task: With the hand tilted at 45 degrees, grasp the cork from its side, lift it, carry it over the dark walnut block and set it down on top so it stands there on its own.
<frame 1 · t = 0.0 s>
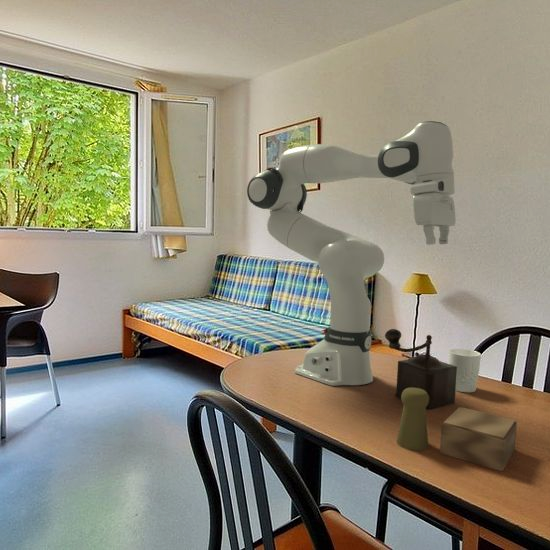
hand: (437, 244, 117), 39 cm above the table, tool pointing down, fingers open, 8 cm apart
white cup: (462, 389, 129), on the table
walnut block: (477, 451, 91), on the table
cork: (412, 444, 94), on the table
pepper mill: (416, 402, 118), on the table
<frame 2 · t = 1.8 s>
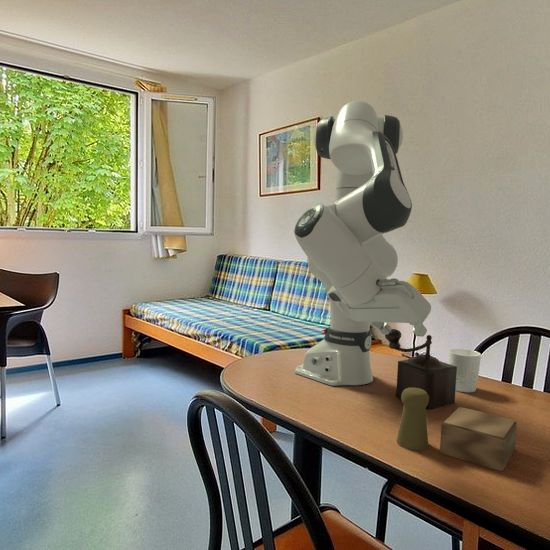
hand: (404, 332, 91), 22 cm above the table, tool tilted 45°, fingers open, 8 cm apart
nothing on the table moved.
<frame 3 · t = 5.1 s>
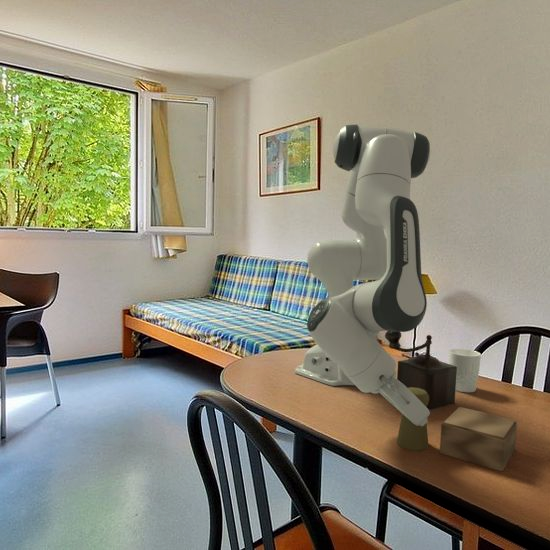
hand: (417, 416, 93), 5 cm above the table, tool tilted 45°, fingers closed on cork, 4 cm apart
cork: (412, 444, 94), on the table, touching gripper
everything else where it was.
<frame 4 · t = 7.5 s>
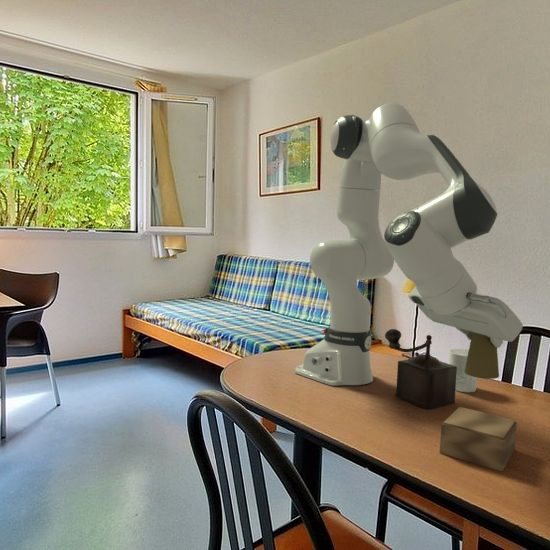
hand: (486, 341, 89), 22 cm above the table, tool tilted 45°, fingers closed on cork, 4 cm apart
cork: (481, 374, 90), point 15 cm above the table, touching gripper
everything else where it was.
when the fingers open (12 cm above the table, at t = 10.0 s): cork stays where it is, point 6 cm above the table.
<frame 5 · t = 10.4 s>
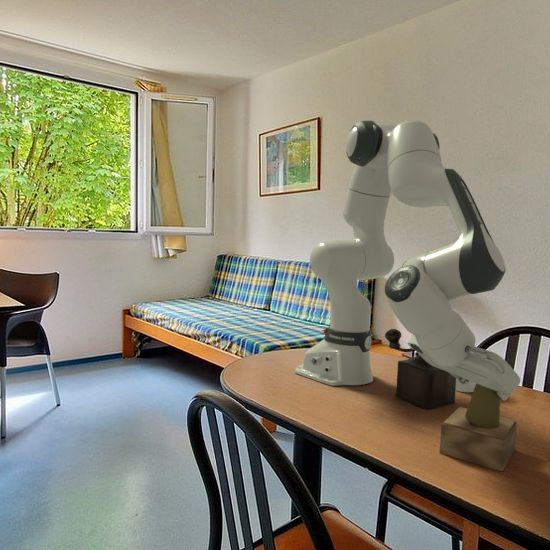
hand: (484, 388, 90), 12 cm above the table, tool tilted 45°, fingers open, 8 cm apart
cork: (481, 420, 90), point 6 cm above the table, touching gripper
everything else where it was.
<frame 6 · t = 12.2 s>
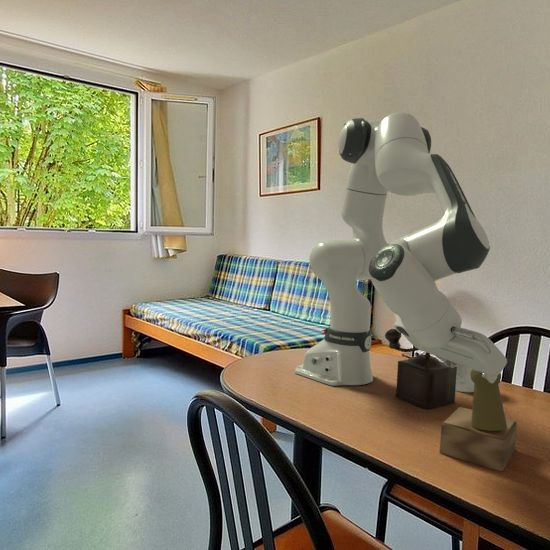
hand: (471, 371, 89), 16 cm above the table, tool tilted 45°, fingers open, 8 cm apart
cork: (489, 426, 88), point 6 cm above the table, touching walnut block
everything else where it was.
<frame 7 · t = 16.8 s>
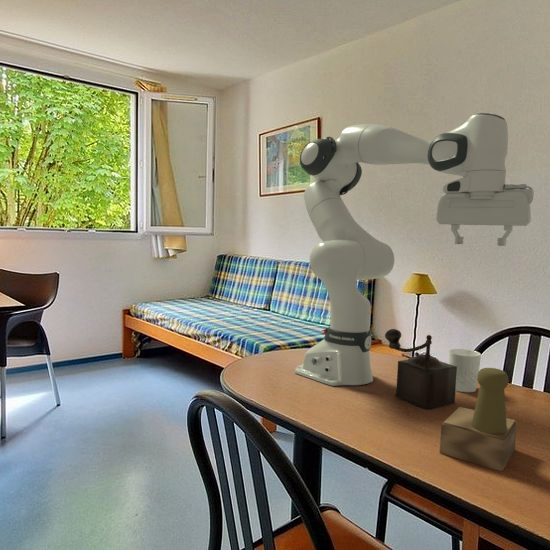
hand: (479, 244, 112), 39 cm above the table, tool pointing down, fingers open, 8 cm apart
at the end: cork inside the target area on the walnut block (3.0 cm from its centre), point 5.8 cm above the walnut block's base; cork tilted 0°; the gripper is holding nothing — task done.
